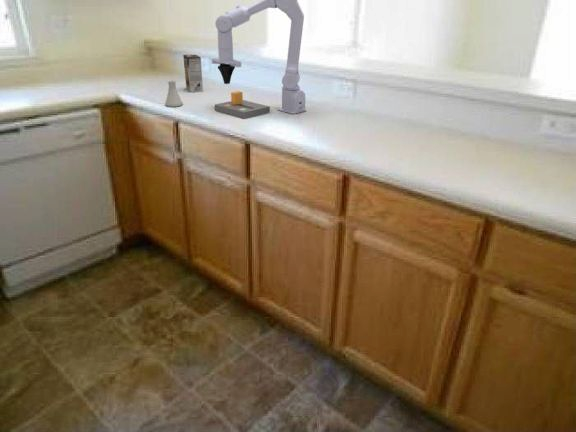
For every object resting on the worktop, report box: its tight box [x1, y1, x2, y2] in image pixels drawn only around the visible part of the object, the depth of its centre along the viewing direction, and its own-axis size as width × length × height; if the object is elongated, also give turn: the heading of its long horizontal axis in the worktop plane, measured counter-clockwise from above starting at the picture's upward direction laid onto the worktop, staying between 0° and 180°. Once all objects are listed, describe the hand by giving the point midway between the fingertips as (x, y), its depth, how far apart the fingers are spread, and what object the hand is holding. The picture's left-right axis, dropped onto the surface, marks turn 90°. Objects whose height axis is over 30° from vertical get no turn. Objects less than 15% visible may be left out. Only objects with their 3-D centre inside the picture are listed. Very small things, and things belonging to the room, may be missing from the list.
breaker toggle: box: [230, 90, 244, 105], centre depth 182 cm, size 2×4×4 cm, turn 136°
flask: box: [164, 80, 184, 108], centre depth 188 cm, size 7×7×10 cm
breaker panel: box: [214, 99, 271, 120], centre depth 182 cm, size 18×14×3 cm
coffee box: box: [182, 54, 204, 93], centre depth 215 cm, size 9×6×16 cm
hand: (227, 83), depth 183 cm, fingers closed
